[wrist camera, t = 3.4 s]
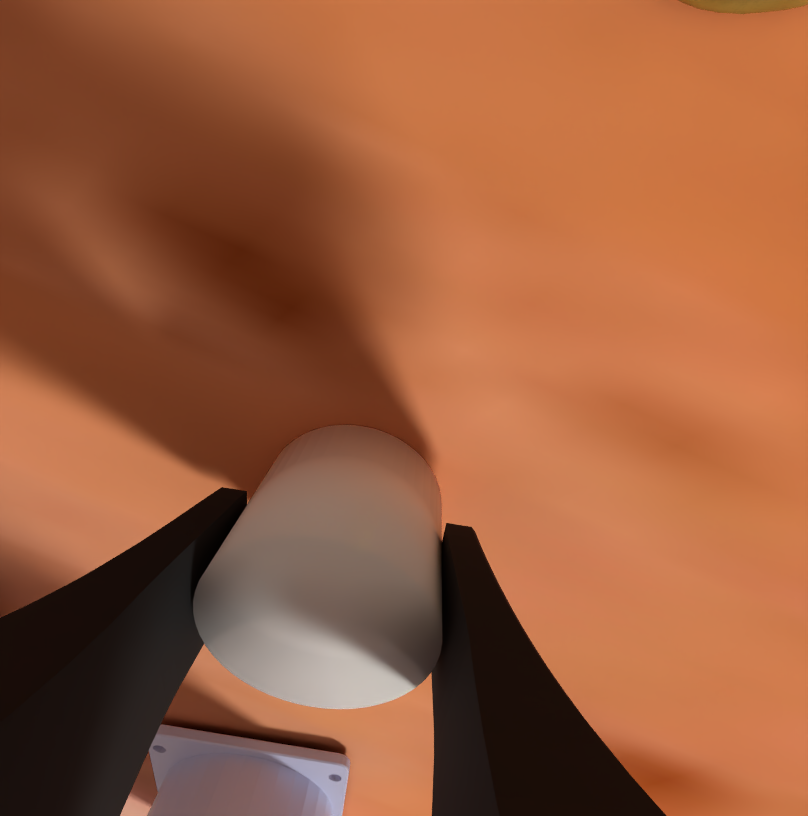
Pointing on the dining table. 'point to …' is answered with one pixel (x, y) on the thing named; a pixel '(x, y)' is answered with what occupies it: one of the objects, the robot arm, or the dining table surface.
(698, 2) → the vase
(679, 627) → the dining table surface
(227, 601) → the white rounded dome
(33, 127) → the dining table surface
